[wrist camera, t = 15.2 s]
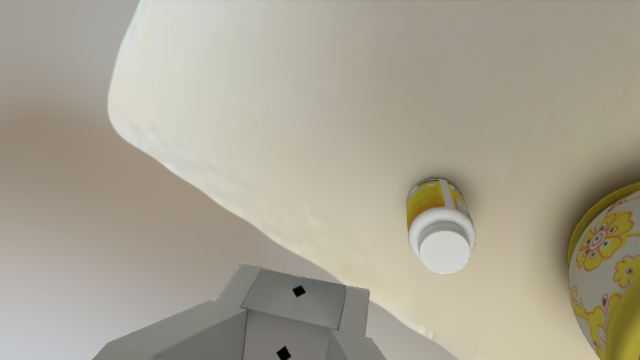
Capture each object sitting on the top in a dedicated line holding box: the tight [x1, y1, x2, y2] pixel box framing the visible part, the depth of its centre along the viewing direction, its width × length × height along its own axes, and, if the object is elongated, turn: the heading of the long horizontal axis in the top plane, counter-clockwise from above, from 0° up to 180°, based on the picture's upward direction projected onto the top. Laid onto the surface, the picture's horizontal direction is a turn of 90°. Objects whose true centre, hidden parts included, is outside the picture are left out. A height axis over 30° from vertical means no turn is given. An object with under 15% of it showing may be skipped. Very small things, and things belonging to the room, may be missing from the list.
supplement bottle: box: [406, 179, 476, 274], centre depth 39 cm, size 6×6×10 cm
